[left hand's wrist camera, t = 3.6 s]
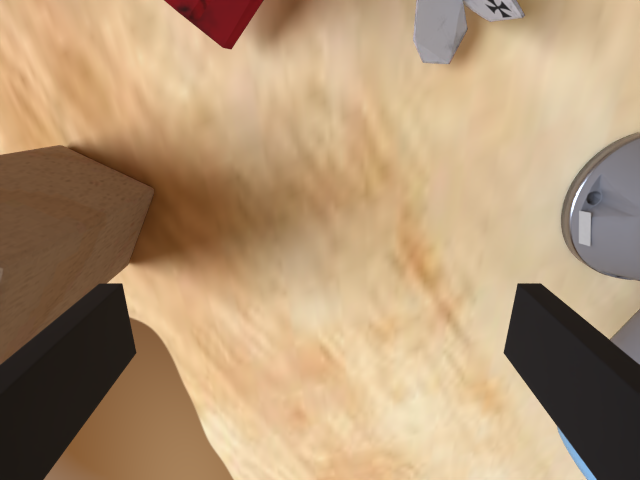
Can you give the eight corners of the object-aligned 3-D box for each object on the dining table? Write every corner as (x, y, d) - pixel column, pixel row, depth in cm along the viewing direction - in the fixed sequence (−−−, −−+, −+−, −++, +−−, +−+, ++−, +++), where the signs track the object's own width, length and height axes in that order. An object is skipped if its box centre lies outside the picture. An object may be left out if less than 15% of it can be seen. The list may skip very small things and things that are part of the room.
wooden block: (157, 188, 39) (4, 268, 20) (128, 266, 42) (-28, 401, 23) (60, 142, 37) (-204, 184, 18) (38, 228, 40) (-209, 338, 21)
